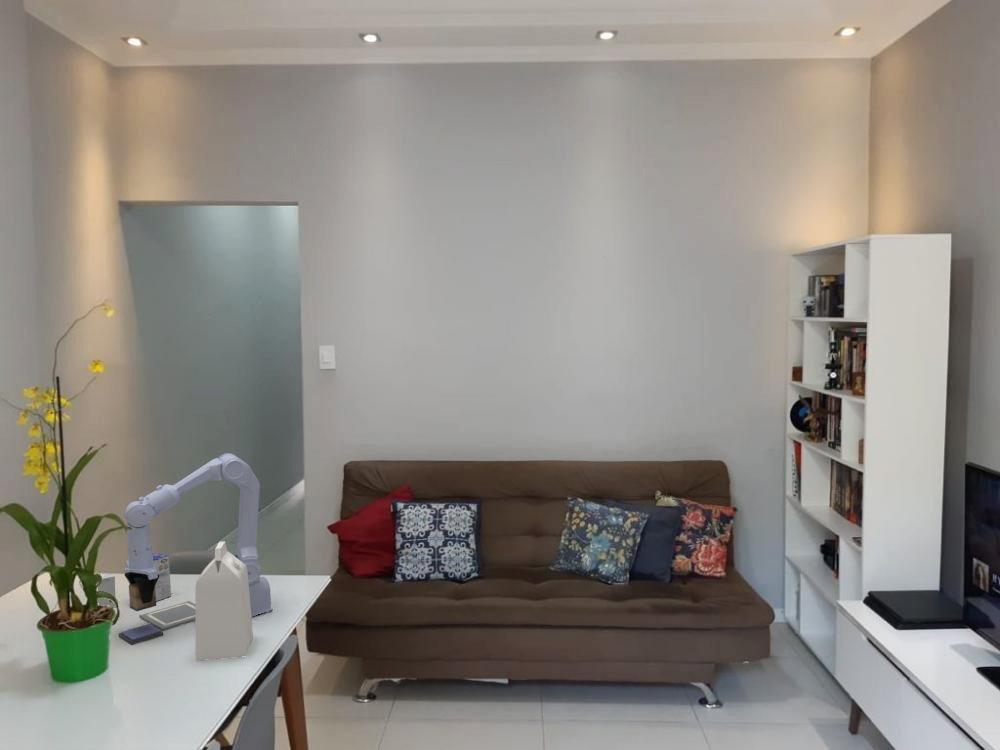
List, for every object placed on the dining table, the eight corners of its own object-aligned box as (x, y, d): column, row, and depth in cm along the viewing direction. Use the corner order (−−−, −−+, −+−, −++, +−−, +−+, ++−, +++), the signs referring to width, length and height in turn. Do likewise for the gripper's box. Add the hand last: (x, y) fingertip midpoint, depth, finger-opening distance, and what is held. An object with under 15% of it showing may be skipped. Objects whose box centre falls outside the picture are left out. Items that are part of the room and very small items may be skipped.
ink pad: (149, 627, 209) (149, 622, 209) (163, 635, 203) (163, 630, 203) (118, 636, 203) (118, 632, 203) (131, 645, 197) (131, 640, 197)
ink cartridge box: (160, 593, 234) (158, 545, 233) (172, 596, 231) (169, 547, 230) (129, 603, 226) (127, 554, 225) (141, 607, 223) (138, 557, 222)
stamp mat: (189, 603, 226) (189, 600, 226) (212, 615, 216) (212, 612, 216) (139, 617, 215) (139, 614, 215) (162, 630, 206) (161, 628, 206)
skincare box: (92, 625, 211) (89, 580, 210) (90, 619, 215) (87, 576, 214) (117, 619, 214) (115, 576, 213) (115, 614, 218) (112, 571, 217)
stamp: (149, 602, 207) (148, 579, 206) (156, 605, 204) (155, 583, 204) (130, 607, 203) (128, 584, 203) (136, 611, 200) (135, 588, 200)
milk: (205, 640, 199) (200, 539, 197) (253, 636, 201) (248, 536, 199) (195, 661, 188) (189, 553, 185) (245, 656, 189) (240, 550, 187)
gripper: (112, 547, 204) (115, 598, 206) (136, 558, 195) (139, 611, 196) (140, 540, 210) (143, 590, 211) (164, 551, 200) (167, 603, 201)
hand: (143, 600), depth 204 cm, fingers closed on stamp, 4 cm apart
